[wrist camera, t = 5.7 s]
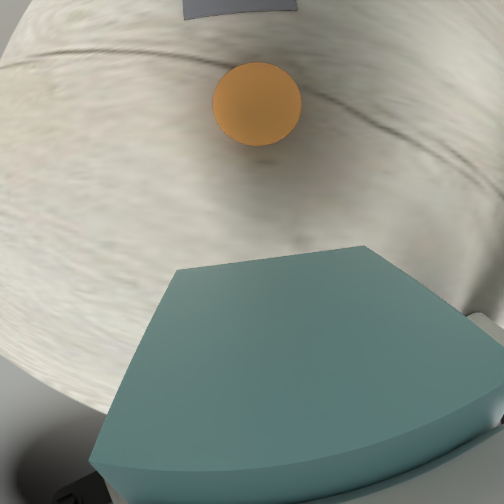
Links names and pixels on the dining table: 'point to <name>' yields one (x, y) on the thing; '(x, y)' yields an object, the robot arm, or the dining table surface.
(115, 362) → the dining table surface
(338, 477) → the light teal cube-like block
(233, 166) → the dining table surface
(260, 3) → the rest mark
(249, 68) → the ball
